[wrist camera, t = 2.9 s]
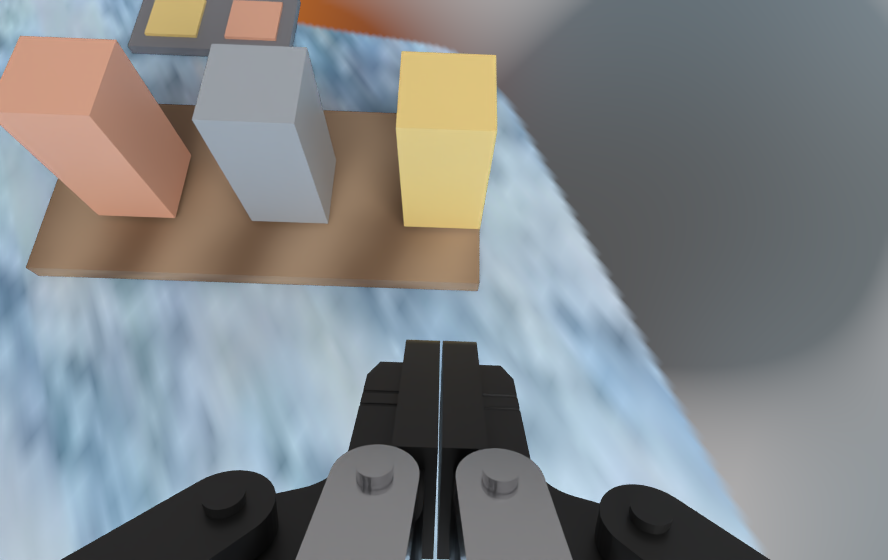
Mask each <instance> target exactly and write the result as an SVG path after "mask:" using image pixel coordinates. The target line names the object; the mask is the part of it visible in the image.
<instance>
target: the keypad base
mask: <svg viewBox="0 0 888 560" xmlns="http://www.w3.org/2000/svg"><path fill="white" fill-rule="evenodd" d="M158 105H159V106H160V108H161V109H162V111H163V112H164V114H165V115H166V117H167V119H168V120H169V122H170V123H171V125H172V126H173V128H174V129H175V131H176V132H177V134H178V135H179V137H180V138H181V140H182V142H183V143H184V145H185V146H186V148H187V149H188V151H189V152H190V154H191V158H190V162H189V166H188V170H187V174H186V178H185V182H184V186H183V190H182V194H181V198H180V202H179V206H178V210H177V213H176V217H175V218H160V217H132V216H105V215H98V214H97V213H96V212H94V211H93V210H92V209H91V208H90V207H89V206H88V205H87V204H86V203H85V202H84V201H82V200H81V199H80V198H79V197H78V196H77V195H76V194H75V193H74V192H73V191H72V190H70V189H69V188H68V187H67V186H66V185H65V184H64V183H63V182H62V181H61V180H60V179H59V178H58V180H57V183H56V186H55V188H54V191H53V194H52V197H51V199H50V202H49V205H48V208H47V210H46V213H45V216H44V219H43V221H42V224H41V227H40V230H39V233H38V235H37V238H36V241H35V244H34V246H33V249H32V252H31V255H30V257H29V260H28V263H27V266H26V268H27V269H29V270H30V271H32V272H34V273H35V274H37V275H38V276H63V277H92V278H120V279H149V280H178V281H207V282H235V283H264V284H293V285H322V286H350V287H379V288H408V289H436V290H465V291H478V287H479V229H464V228H436V227H408V226H404V219H403V207H402V195H401V183H400V172H399V160H398V148H397V136H396V119H397V113H378V112H352V111H326V110H323V112H324V116H325V119H326V123H327V127H328V131H329V135H330V139H331V143H332V147H333V150H334V154H335V158H336V165H335V173H334V181H333V189H332V197H331V205H330V213H329V221H328V224H326V223H298V222H270V221H252V220H251V219H250V217H249V215H248V213H247V212H246V210H245V208H244V207H243V205H242V203H241V202H240V200H239V198H238V197H237V195H236V193H235V192H234V190H233V188H232V187H231V185H230V183H229V181H228V180H227V178H226V176H225V175H224V173H223V171H222V170H221V168H220V166H219V165H218V163H217V161H216V160H215V158H214V156H213V155H212V153H211V151H210V149H209V148H208V146H207V144H206V143H205V141H204V139H203V138H202V136H201V134H200V133H199V131H198V129H197V128H196V126H195V124H194V123H193V121H192V117H193V113H194V110H195V106H196V105H172V104H158Z"/></svg>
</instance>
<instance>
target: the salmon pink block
mask: <svg viewBox="0 0 888 560" xmlns="http://www.w3.org/2000/svg"><path fill="white" fill-rule="evenodd" d="M0 125H1V126H2V127H3V128H4V129H5V130H6V131H7V132H8V133H10V134H11V135H12V136H13V137H14V138H15V139H16V140H17V141H18V142H19V143H20V144H22V145H23V146H24V147H25V148H26V149H27V150H28V151H29V152H30V153H31V154H32V155H33V156H35V157H36V158H37V159H38V160H39V161H40V162H41V163H42V164H43V165H44V166H45V167H47V168H48V169H49V170H50V171H51V172H52V173H53V174H54V175H55V176H56V177H57V178H59V179H60V180H61V181H62V182H63V183H64V184H65V185H66V186H67V187H68V188H69V189H70V190H72V191H73V192H74V193H75V194H76V195H77V196H78V197H79V198H80V199H81V200H82V201H84V202H85V203H86V204H87V205H88V206H89V207H90V208H91V209H92V210H93V211H94V212H96V213H97V214H98V215H105V216H132V217H160V218H175V217H176V213H177V210H178V206H179V202H180V198H181V194H182V190H183V186H184V182H185V178H186V174H187V170H188V166H189V162H190V158H191V154H190V152H189V151H188V149H187V148H186V146H185V145H184V143H183V142H182V140H181V138H180V137H179V135H178V134H177V132H176V131H175V129H174V128H173V126H172V125H171V123H170V122H169V120H168V119H167V117H166V115H165V114H164V112H163V111H162V109H161V108H160V106H159V105H158V103H157V102H156V100H155V99H154V97H153V96H152V94H151V93H150V91H149V89H148V88H147V86H146V85H145V83H144V82H143V80H142V79H141V77H140V76H139V74H138V73H137V71H136V70H135V68H134V66H133V65H132V63H131V62H130V60H129V59H128V57H127V56H126V54H125V53H124V51H123V50H122V48H121V47H120V45H119V43H118V42H117V40H108V39H83V38H59V37H34V36H20V37H19V39H18V42H17V44H16V46H15V48H14V51H13V53H12V55H11V57H10V59H9V62H8V64H7V66H6V68H5V71H4V73H3V75H2V77H1V79H0Z"/></svg>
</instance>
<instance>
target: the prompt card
mask: <svg viewBox="0 0 888 560" xmlns="http://www.w3.org/2000/svg"><path fill="white" fill-rule="evenodd" d="M300 4H301V3H300V0H143V3H142V6H141V9H140V11H139V14H138V17H137V20H136V23H135V26H134V29H133V32H132V35H131V38H130V41H129V44H128V47H129V48H130V50H131V52H132V53H140V54H165V55H190V56H209V52H210V48H211V44H233V45H257V46H282V47H293V42H294V37H295V31H296V26H297V20H298V15H299V9H300Z"/></svg>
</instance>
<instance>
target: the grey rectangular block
mask: <svg viewBox="0 0 888 560" xmlns="http://www.w3.org/2000/svg"><path fill="white" fill-rule="evenodd" d="M192 121H193V123H194V124H195V126H196V128H197V129H198V131H199V133H200V134H201V136H202V138H203V139H204V141H205V143H206V144H207V146H208V148H209V149H210V151H211V153H212V155H213V156H214V158H215V160H216V161H217V163H218V165H219V166H220V168H221V170H222V171H223V173H224V175H225V176H226V178H227V180H228V181H229V183H230V185H231V187H232V188H233V190H234V192H235V193H236V195H237V197H238V198H239V200H240V202H241V203H242V205H243V207H244V208H245V210H246V212H247V213H248V215H249V217H250V219H251V220H252V221H270V222H298V223H326V224H328V221H329V213H330V205H331V197H332V189H333V181H334V173H335V165H336V158H335V154H334V150H333V147H332V143H331V139H330V135H329V131H328V127H327V123H326V119H325V116H324V112H323V108H322V104H321V100H320V96H319V92H318V89H317V85H316V81H315V77H314V73H313V69H312V65H311V61H310V58H309V54H308V50H307V47H282V46H257V45H233V44H211V48H210V52H209V56H208V60H207V64H206V67H205V71H204V75H203V79H202V83H201V87H200V90H199V94H198V98H197V102H196V106H195V110H194V113H193V117H192Z"/></svg>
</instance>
